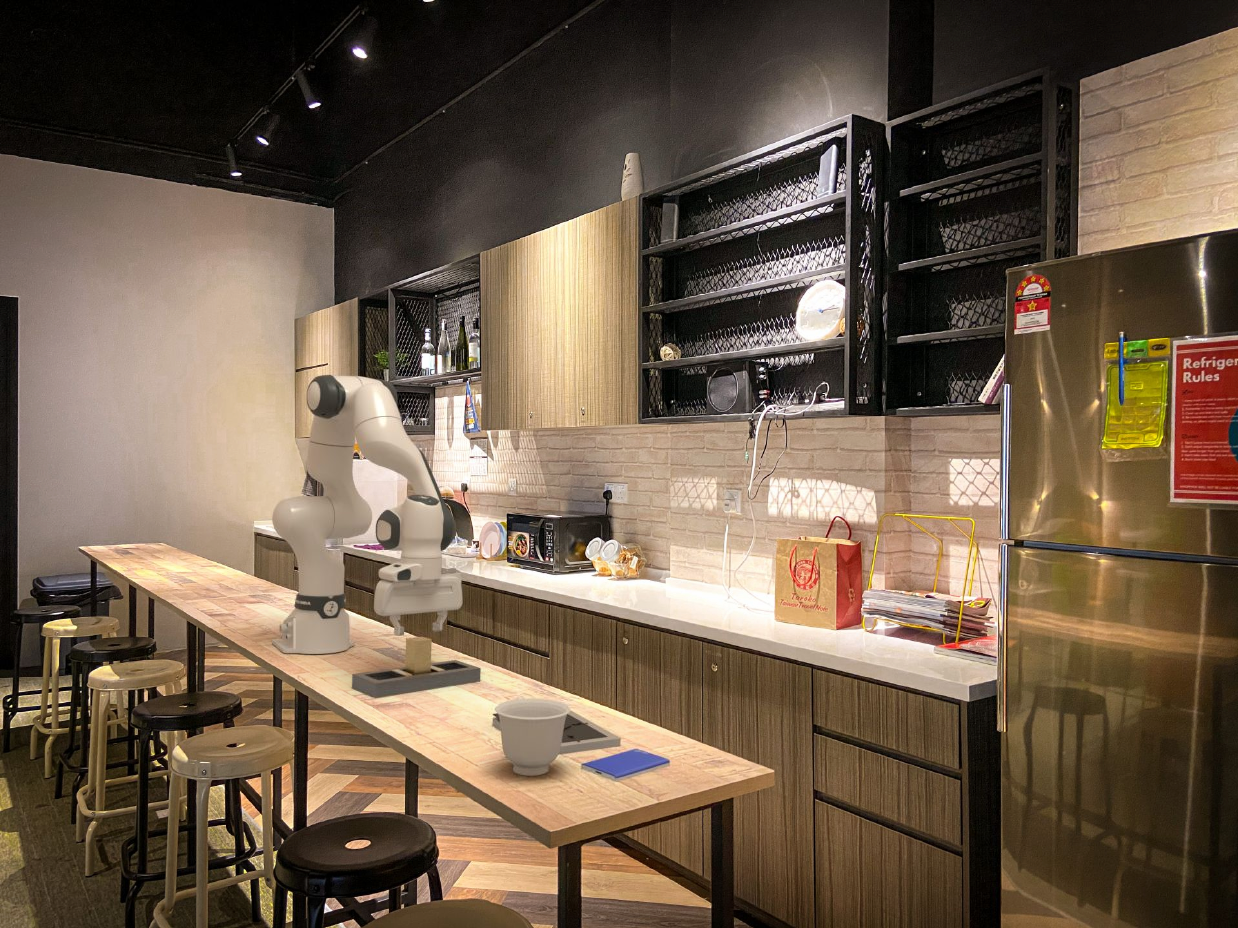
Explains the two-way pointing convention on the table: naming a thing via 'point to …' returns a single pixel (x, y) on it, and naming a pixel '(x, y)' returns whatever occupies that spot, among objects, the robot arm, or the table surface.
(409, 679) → the grey compartment tray
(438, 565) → the robot arm
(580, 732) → the picture frame
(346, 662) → the table surface
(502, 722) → the teacup
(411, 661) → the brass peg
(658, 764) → the hard drive
